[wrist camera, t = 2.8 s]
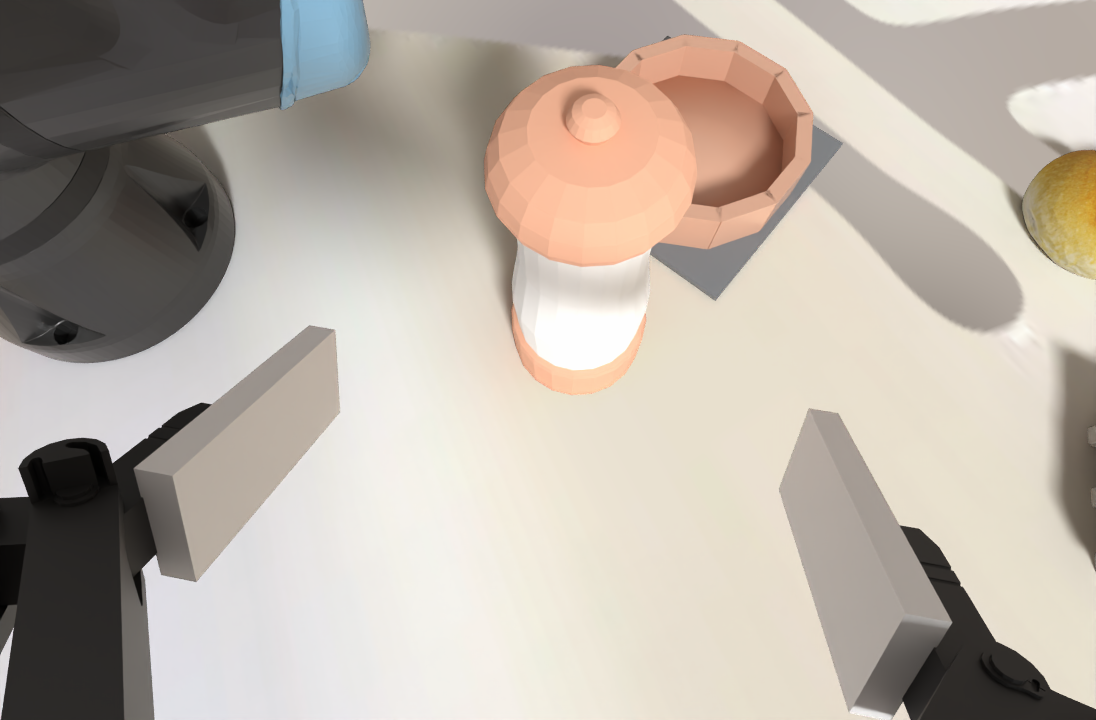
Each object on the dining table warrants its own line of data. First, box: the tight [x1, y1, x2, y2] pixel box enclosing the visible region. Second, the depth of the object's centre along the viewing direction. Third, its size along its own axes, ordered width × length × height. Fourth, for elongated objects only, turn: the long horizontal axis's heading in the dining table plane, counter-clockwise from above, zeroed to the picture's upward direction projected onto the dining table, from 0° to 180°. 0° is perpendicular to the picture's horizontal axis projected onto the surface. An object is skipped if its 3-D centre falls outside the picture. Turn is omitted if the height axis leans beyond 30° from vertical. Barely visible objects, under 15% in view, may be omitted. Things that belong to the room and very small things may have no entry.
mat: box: [650, 36, 843, 300], centre depth 39 cm, size 14×14×1 cm
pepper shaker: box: [484, 65, 697, 395], centre depth 26 cm, size 7×7×19 cm
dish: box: [616, 35, 813, 249], centre depth 37 cm, size 13×13×3 cm
